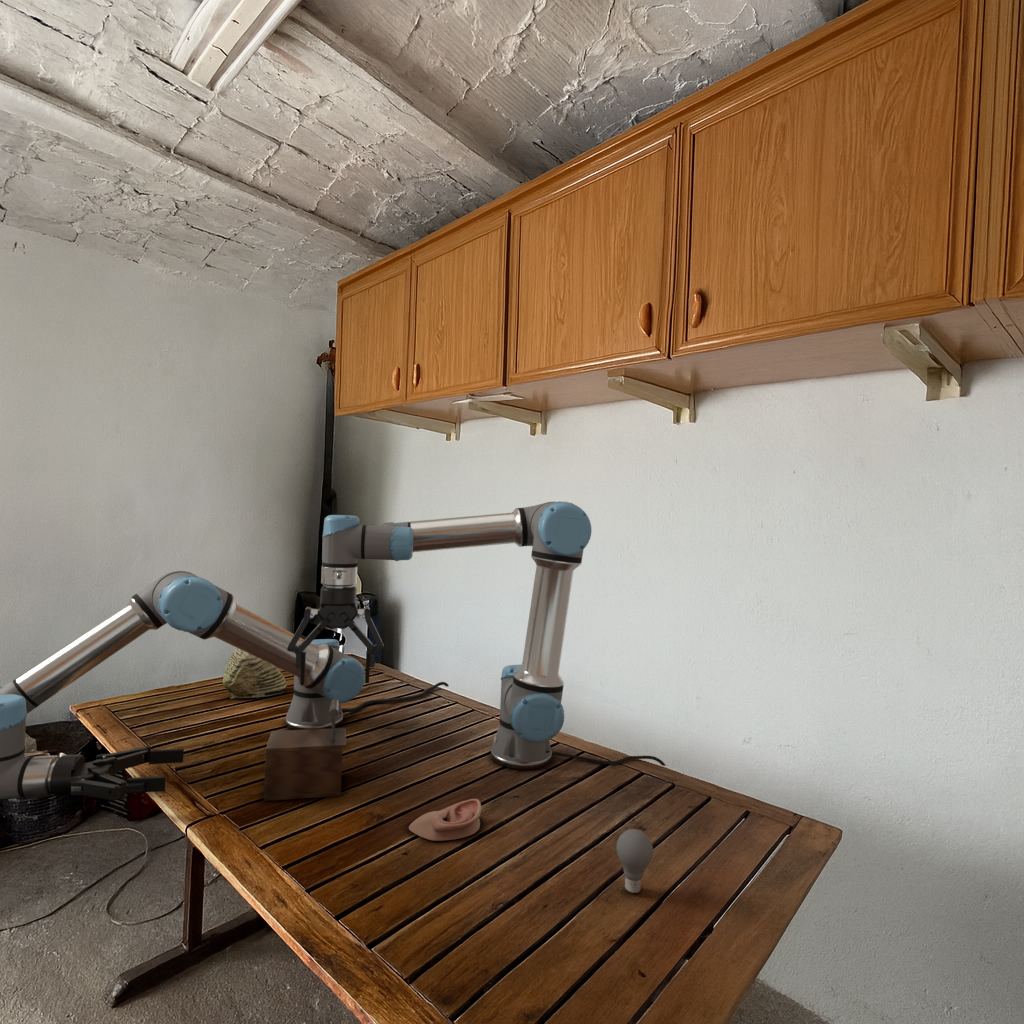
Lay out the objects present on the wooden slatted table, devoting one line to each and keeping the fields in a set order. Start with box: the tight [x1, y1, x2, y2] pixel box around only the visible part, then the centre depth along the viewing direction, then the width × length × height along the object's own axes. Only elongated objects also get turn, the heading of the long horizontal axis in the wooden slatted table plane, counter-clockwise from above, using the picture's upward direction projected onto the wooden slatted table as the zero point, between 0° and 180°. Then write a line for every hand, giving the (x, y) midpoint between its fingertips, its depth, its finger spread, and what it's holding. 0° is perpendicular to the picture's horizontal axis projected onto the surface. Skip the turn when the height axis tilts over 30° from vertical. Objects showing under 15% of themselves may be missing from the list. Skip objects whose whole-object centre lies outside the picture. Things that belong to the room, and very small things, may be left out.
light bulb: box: [615, 828, 654, 894], centre depth 106 cm, size 6×6×10 cm
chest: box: [263, 748, 344, 802], centre depth 137 cm, size 15×10×10 cm, turn 104°
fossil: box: [222, 647, 288, 699], centre depth 198 cm, size 9×18×15 cm, turn 132°
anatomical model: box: [408, 798, 482, 842], centre depth 124 cm, size 13×4×12 cm
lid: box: [265, 699, 347, 753], centre depth 137 cm, size 16×10×8 cm, turn 105°
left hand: (174, 768), depth 131 cm, fingers open, 13 cm apart
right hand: (335, 682), depth 139 cm, fingers open, 13 cm apart
